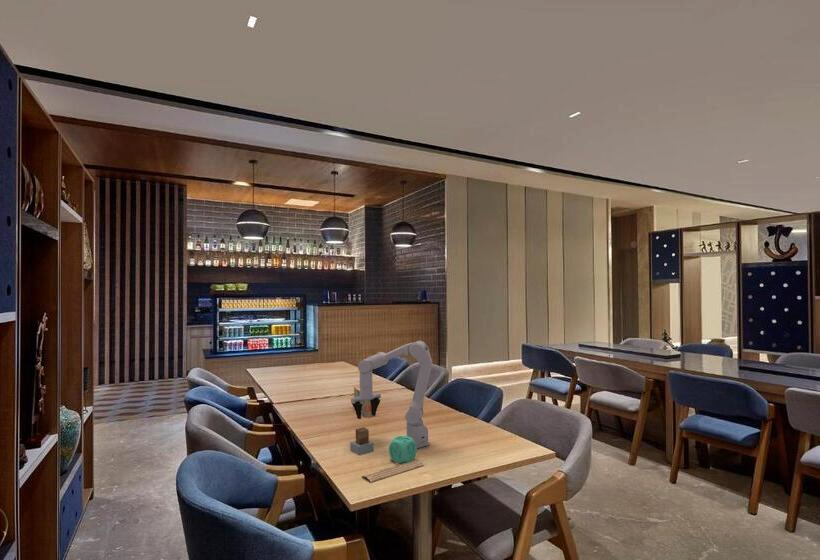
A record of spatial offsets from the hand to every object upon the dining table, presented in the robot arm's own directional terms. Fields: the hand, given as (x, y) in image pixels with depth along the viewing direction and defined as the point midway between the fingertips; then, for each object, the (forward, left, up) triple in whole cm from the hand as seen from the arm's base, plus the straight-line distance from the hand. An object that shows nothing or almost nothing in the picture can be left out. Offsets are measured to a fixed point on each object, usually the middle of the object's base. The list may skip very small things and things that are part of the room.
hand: (366, 416), depth 189 cm
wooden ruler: (-34, +10, -11) cm, 38 cm away
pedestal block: (-9, +8, -11) cm, 16 cm away
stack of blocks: (+41, -25, -11) cm, 49 cm away
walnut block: (-9, +8, -7) cm, 14 cm away
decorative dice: (-28, +1, -11) cm, 30 cm away
